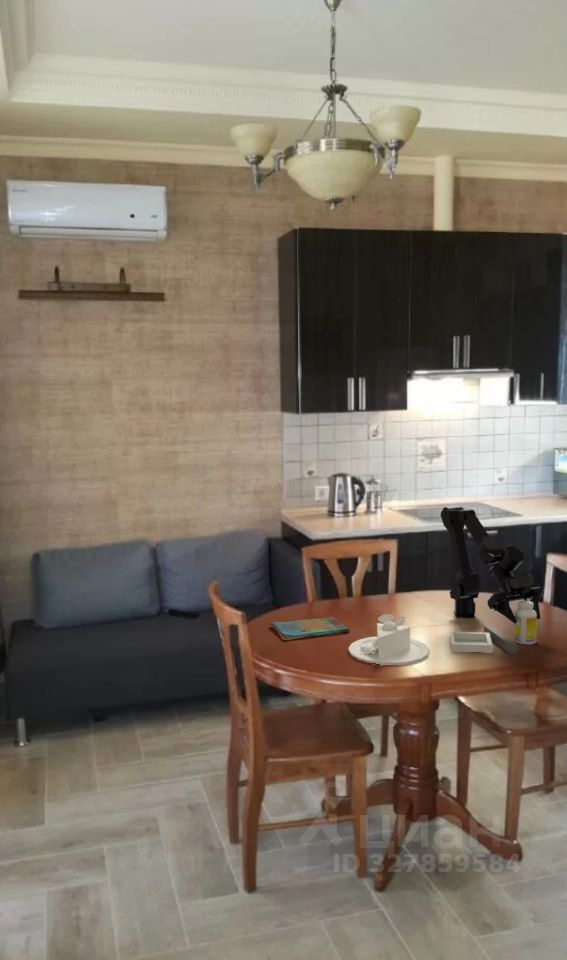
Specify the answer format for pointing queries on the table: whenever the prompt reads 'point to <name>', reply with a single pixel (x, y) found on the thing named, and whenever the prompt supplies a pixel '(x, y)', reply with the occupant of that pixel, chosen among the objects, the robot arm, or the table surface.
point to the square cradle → (470, 642)
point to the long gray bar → (501, 640)
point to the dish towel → (310, 627)
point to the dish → (390, 645)
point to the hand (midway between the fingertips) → (527, 620)
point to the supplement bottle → (525, 623)
